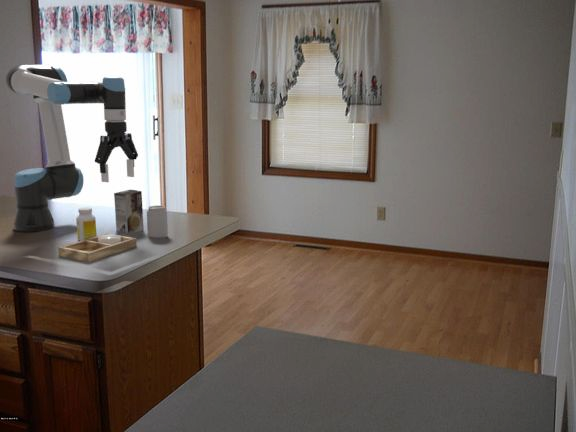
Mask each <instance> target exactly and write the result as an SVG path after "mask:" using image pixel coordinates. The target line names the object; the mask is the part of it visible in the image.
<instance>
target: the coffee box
mask: <svg viewBox="0 0 576 432" xmlns="http://www.w3.org/2000/svg"><path fill="white" fill-rule="evenodd" d="M142 193H143V192H142V191H141V190H137V189H136V190H135V189H127V190H122V191H119V192H114V193H113V198H114V199H113V200H114V210H115V211H114V212H115V213H114V214H115V228H116V232H120V233H127V234H130V233H133V234H136V233H140V232H142V231H144V230H145V228H144V216H143V215H144V214H143V213H144V212H143V211H144V210H143V195H142Z"/></svg>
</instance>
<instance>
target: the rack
mask: <svg viewBox="0 0 576 432" xmlns="http://www.w3.org/2000/svg"><path fill="white" fill-rule="evenodd" d="M103 235H115V234H114V233H104V234H100V235H97V236H96V237H93V238H89V239H86V240H83V241H79V242H78V241H76V242H73V243H69V244H66V245H63V246H59V247H58V256H59V257H63V258H69V259H73V260H77V261H78V260H79V261H84V262H87V263H88V262H89V263H90V262H91V263H92V262H93V261H97V260H100V259H102V258H105V257H107V256H111V255H114V254H117V253H120V252H121V253H122V252H124V251H126V250H130V249H132V248H133V249H134V248H135V247H137V245H138V244H137V238H136V237H131V236H124V235H120V236H121V242H119V243H116V244H113V245H110V244H105V243H99V242H98V237H100V236H103Z"/></svg>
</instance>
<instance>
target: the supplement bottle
mask: <svg viewBox="0 0 576 432" xmlns="http://www.w3.org/2000/svg"><path fill="white" fill-rule="evenodd" d="M78 213H79V215H77V216H76V218H75V219H76V232H77V233H76V234H77V242H79V241H83V240H86V239H89V238H93V237H96V236H98V235H97V234H98V233H97V224H96V222H97V220H96V216H95V215H94V214H92V213H93V207H80V208H78Z"/></svg>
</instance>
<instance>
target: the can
mask: <svg viewBox="0 0 576 432" xmlns="http://www.w3.org/2000/svg"><path fill="white" fill-rule="evenodd" d="M146 225H147V237H149V238H166V237H168V235H169V234H168V233H169V232H168V229H169V228H168V210H167V209H166V206H164V205H150V206H148V209H147V211H146Z"/></svg>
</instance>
